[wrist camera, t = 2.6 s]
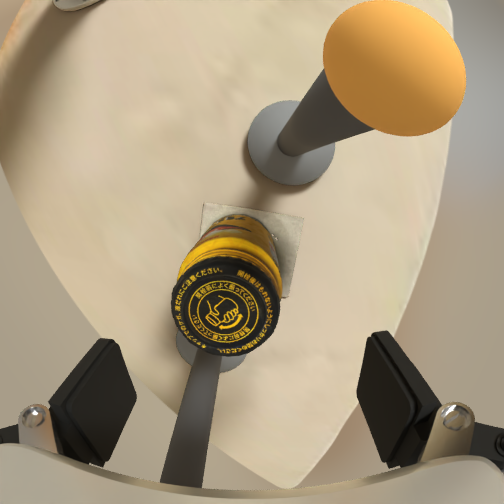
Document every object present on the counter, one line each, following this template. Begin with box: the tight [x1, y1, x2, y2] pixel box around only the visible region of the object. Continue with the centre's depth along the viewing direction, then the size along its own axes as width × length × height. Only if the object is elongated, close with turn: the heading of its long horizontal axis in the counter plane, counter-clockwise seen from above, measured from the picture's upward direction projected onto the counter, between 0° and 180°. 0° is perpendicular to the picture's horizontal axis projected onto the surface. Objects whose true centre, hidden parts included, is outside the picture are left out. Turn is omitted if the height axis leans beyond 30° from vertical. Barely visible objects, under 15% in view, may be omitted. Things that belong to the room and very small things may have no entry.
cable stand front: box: [248, 0, 466, 185], centre depth 12 cm, size 7×7×20 cm
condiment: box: [171, 202, 304, 357], centre depth 18 cm, size 7×8×12 cm
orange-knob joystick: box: [160, 330, 246, 488], centre depth 17 cm, size 7×7×20 cm
